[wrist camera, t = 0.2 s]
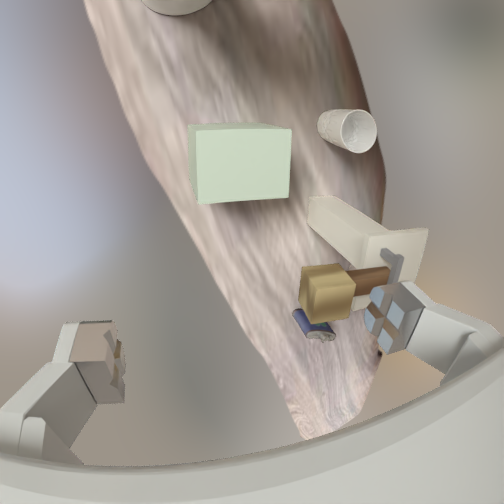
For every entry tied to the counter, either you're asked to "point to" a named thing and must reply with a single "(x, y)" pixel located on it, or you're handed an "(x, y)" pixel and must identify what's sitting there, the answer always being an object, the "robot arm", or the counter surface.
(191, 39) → the counter surface
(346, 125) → the white cup
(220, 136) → the sage pedestal
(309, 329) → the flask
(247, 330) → the counter surface
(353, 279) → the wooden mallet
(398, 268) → the tall stand
